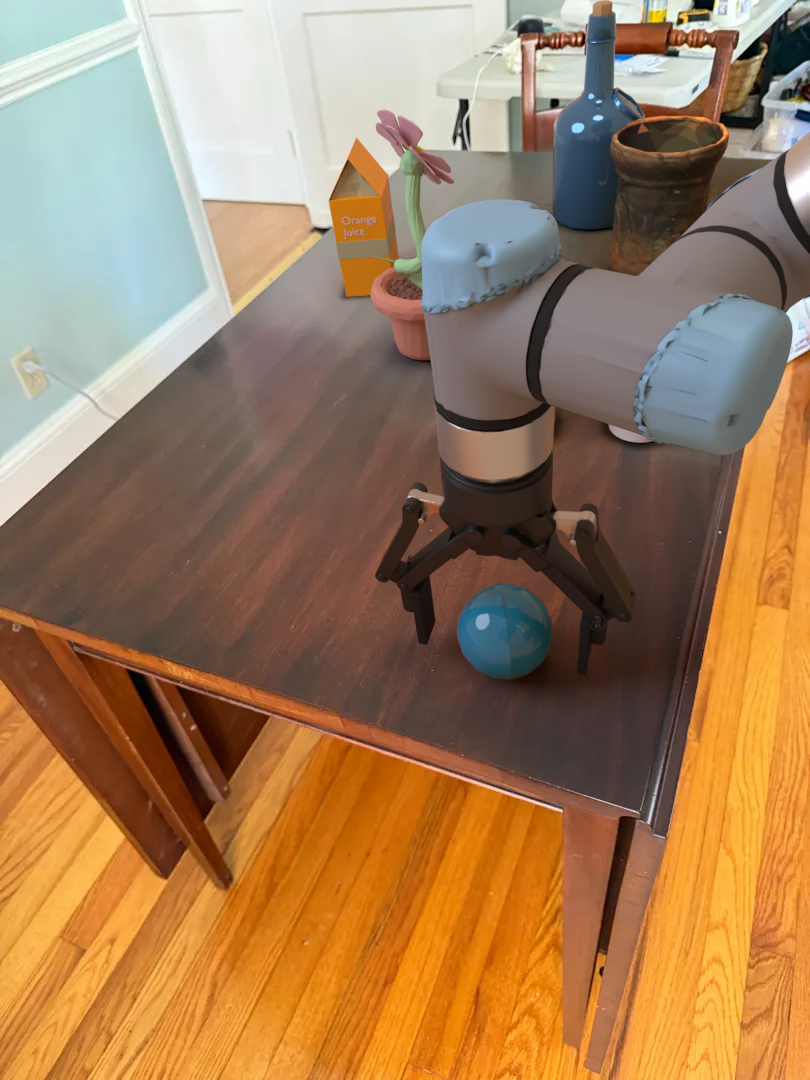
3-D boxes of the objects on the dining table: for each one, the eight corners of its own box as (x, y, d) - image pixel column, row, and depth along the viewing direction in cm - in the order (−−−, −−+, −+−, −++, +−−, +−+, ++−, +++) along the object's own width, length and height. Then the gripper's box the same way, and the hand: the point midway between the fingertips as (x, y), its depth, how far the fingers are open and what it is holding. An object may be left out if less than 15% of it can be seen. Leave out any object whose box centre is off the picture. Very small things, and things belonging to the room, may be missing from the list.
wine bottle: (548, 234, 127) (550, 17, 107) (555, 201, 136) (558, -4, 116) (636, 231, 124) (655, 8, 103) (637, 198, 133) (655, -14, 112)
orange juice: (401, 267, 125) (383, 133, 111) (395, 293, 119) (375, 155, 105) (353, 270, 126) (330, 138, 112) (344, 297, 120) (319, 160, 106)
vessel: (729, 284, 109) (756, 130, 95) (645, 316, 106) (661, 161, 92) (661, 249, 119) (677, 105, 105) (582, 277, 115) (588, 132, 101)
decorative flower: (506, 351, 103) (497, 102, 83) (417, 390, 99) (384, 138, 79) (445, 310, 113) (423, 78, 93) (362, 344, 109) (320, 110, 88)
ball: (545, 620, 70) (545, 558, 65) (560, 694, 65) (562, 633, 59) (456, 629, 71) (449, 568, 65) (463, 703, 65) (456, 644, 60)
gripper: (697, 434, 51) (659, 638, 65) (342, 400, 58) (380, 590, 73) (689, 512, 46) (650, 713, 60) (303, 464, 53) (352, 654, 68)
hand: (503, 646), depth 67 cm, fingers open, 13 cm apart
